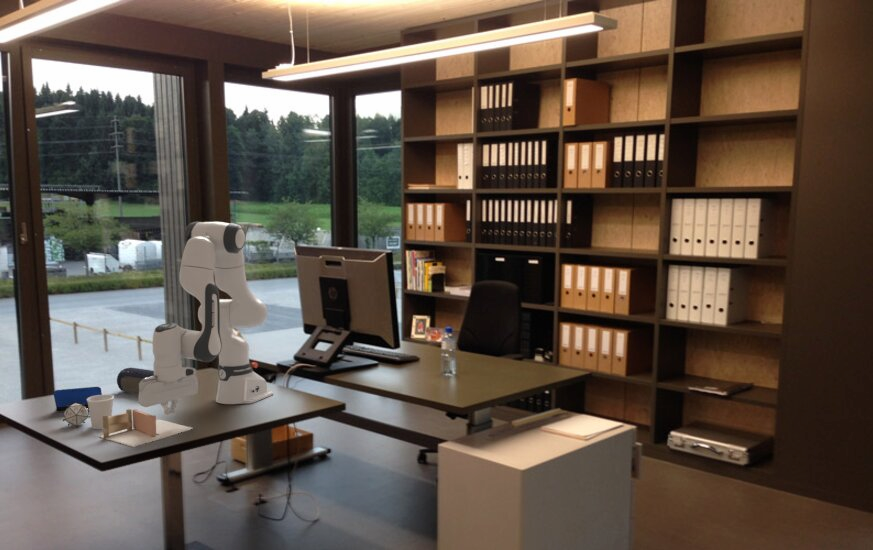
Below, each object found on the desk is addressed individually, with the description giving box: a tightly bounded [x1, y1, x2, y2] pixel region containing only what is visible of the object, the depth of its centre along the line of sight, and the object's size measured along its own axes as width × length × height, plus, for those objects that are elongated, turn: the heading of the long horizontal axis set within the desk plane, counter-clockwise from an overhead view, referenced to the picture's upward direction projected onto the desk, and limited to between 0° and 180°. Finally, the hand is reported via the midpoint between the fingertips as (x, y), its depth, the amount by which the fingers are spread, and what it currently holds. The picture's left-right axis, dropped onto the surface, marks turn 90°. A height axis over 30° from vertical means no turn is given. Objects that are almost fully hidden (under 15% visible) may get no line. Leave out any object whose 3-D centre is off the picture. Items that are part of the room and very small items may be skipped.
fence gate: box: [132, 408, 157, 437], centre depth 234 cm, size 14×2×6 cm, turn 49°
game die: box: [61, 401, 91, 429], centre depth 242 cm, size 9×8×10 cm
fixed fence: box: [102, 408, 133, 440], centre depth 232 cm, size 10×2×7 cm, turn 147°
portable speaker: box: [116, 367, 154, 395], centre depth 284 cm, size 25×10×10 cm, turn 63°
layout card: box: [99, 419, 194, 448], centre depth 235 cm, size 22×18×1 cm
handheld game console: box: [52, 386, 103, 412], centre depth 264 cm, size 16×13×9 cm
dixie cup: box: [87, 394, 115, 430], centre depth 241 cm, size 8×8×10 cm
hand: (169, 413), depth 238 cm, fingers closed
